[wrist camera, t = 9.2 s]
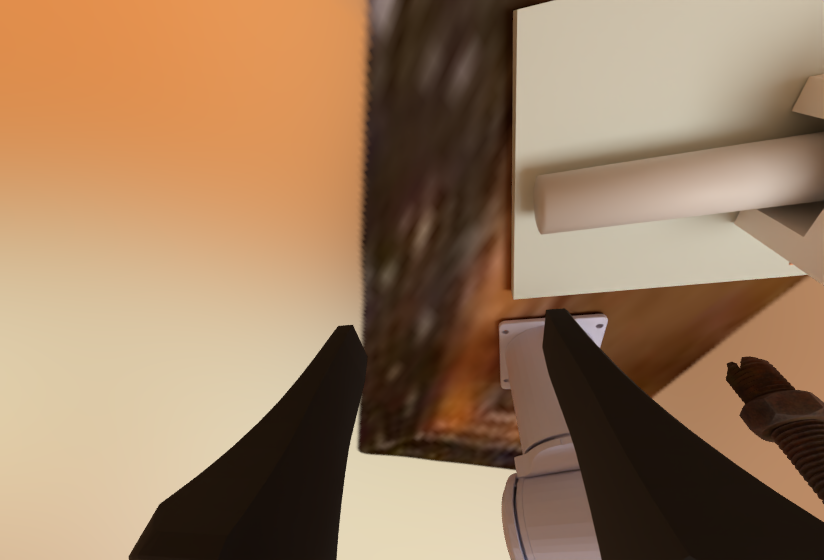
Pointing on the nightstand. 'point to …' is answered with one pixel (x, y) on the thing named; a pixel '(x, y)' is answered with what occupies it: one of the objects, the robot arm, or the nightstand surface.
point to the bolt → (782, 416)
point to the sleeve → (794, 209)
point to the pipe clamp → (658, 139)
